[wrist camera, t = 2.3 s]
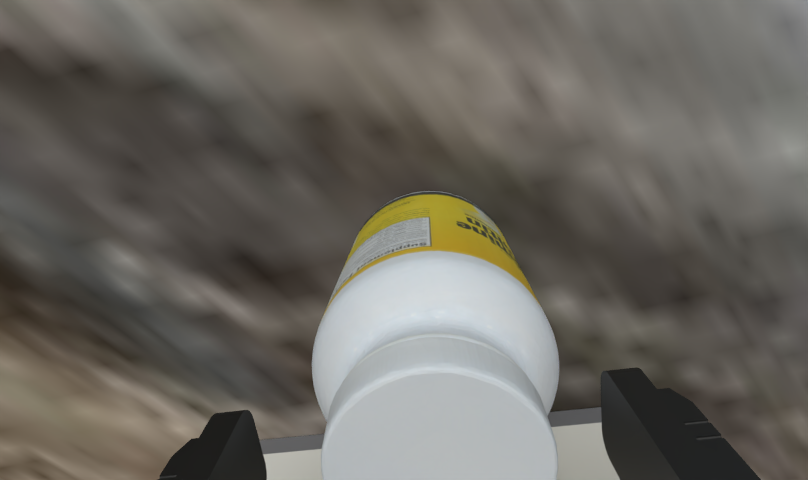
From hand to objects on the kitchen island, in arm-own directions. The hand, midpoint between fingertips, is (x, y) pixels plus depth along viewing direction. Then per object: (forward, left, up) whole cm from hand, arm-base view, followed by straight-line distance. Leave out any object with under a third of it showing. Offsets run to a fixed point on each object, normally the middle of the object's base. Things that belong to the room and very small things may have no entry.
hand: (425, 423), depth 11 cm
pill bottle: (0, 0, -10) cm, 10 cm away
